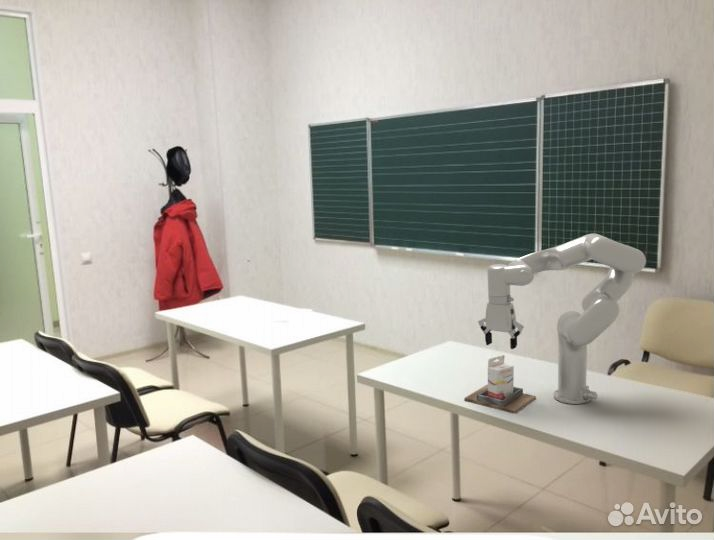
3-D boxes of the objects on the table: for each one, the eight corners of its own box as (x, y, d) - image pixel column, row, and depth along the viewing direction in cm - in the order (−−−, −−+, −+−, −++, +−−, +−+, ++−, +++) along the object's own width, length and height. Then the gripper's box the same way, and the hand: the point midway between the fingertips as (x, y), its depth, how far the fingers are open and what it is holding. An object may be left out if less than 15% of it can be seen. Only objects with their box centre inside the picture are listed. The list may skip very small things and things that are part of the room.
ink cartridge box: (497, 402, 217) (497, 362, 214) (487, 398, 221) (486, 359, 218) (514, 396, 221) (514, 357, 219) (504, 392, 226) (503, 354, 223)
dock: (535, 398, 221) (535, 390, 220) (514, 413, 209) (514, 405, 209) (486, 387, 234) (486, 379, 234) (464, 400, 222) (464, 392, 222)
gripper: (527, 299, 212) (528, 346, 215) (483, 295, 223) (485, 340, 226) (516, 304, 207) (518, 352, 210) (472, 299, 218) (474, 345, 221)
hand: (501, 346), depth 218 cm, fingers open, 9 cm apart
